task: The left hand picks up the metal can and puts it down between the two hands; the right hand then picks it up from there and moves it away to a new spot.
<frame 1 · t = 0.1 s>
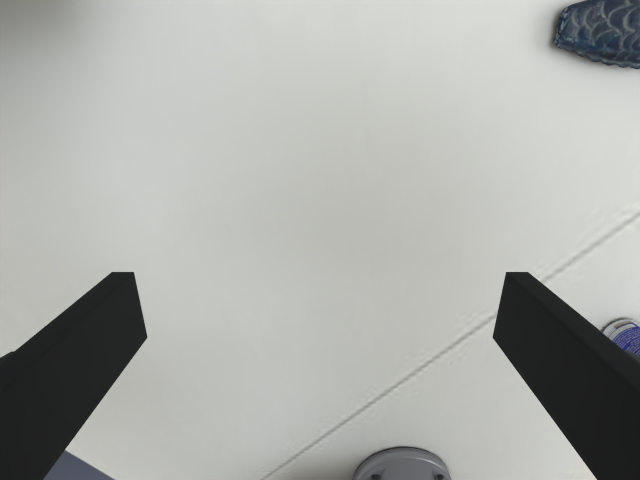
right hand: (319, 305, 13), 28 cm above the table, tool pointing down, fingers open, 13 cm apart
pill bottle: (618, 334, 47), on the table
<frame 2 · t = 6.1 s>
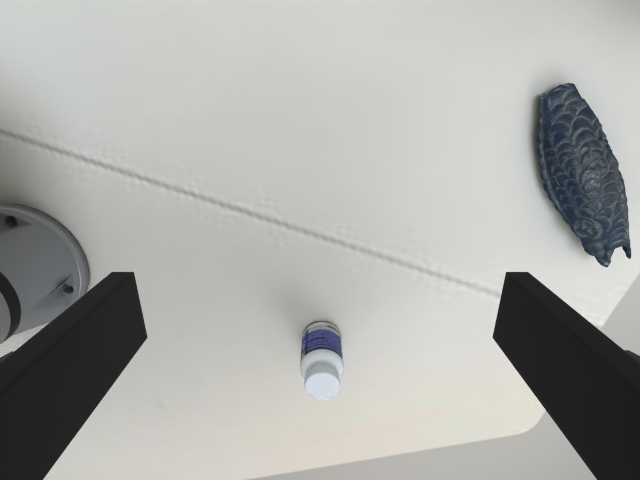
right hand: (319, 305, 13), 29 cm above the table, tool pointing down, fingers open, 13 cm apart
pill bottle: (321, 336, 48), on the table
fish model: (572, 176, 40), on the table
when the left hand's fingers open (5 cm above the table, at t = 15.8 s): can drops 2 cm, on the table.
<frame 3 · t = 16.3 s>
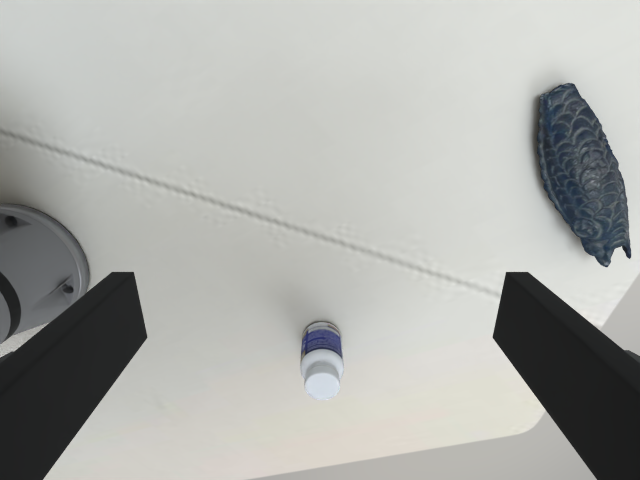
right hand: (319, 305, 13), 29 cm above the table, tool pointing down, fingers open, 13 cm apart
pill bottle: (321, 336, 48), on the table
fish model: (572, 176, 40), on the table
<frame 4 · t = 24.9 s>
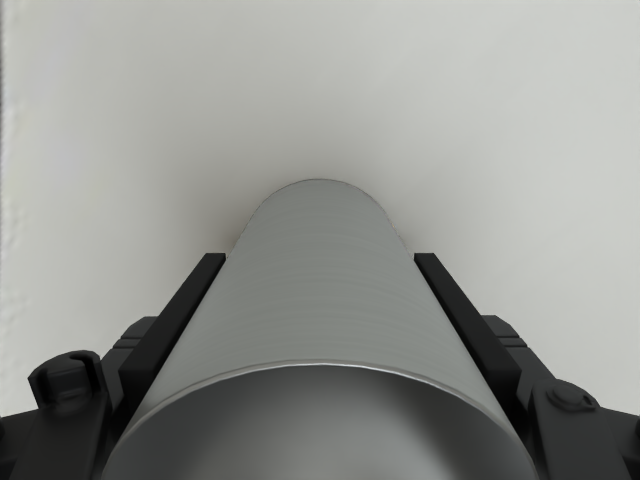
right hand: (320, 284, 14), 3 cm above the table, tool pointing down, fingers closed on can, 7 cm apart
can: (319, 255, 17), on the table, touching right hand
when the right hand's fingers open (5 cm above the table, at t = 35.0 s): can drops 2 cm, on the table.
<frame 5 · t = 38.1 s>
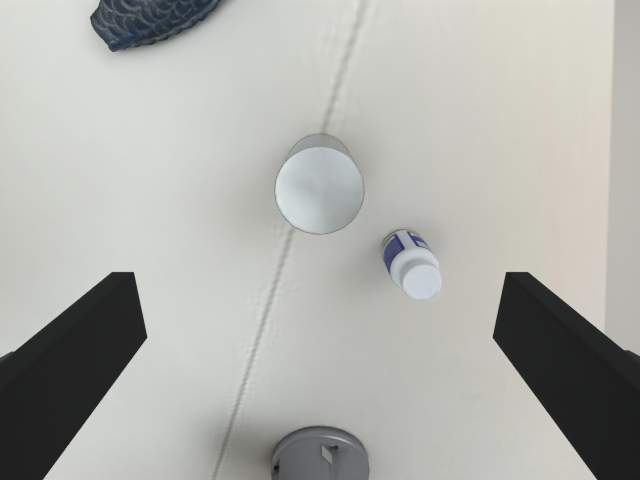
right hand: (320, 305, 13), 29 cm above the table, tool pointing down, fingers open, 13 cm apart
pill bottle: (402, 248, 44), on the table
can: (319, 167, 40), on the table
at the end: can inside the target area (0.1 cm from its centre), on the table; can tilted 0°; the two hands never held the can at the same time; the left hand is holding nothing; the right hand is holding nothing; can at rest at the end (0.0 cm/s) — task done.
